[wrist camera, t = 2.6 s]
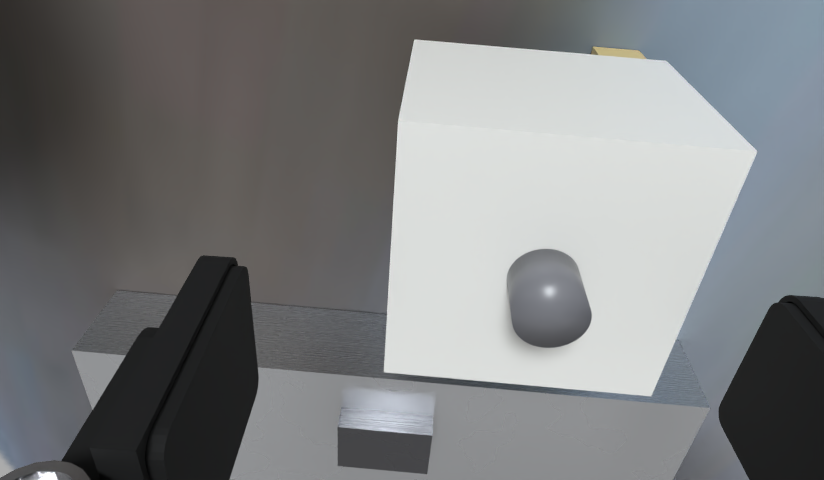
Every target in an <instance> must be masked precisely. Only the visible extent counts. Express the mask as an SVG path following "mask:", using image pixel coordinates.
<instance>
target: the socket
mask: <svg viewBox="0 0 824 480" xmlns="http://www.w3.org/2000/svg"><path fill="white" fill-rule="evenodd" d="M176 297H177V296H172V295H161V294H150V293H139V292H127V291H116V292H115V294H114V295H113V296H112V298H111V299H110V300H109V302H108V303H107V304H106V306H105V307H104V308H103V310H102V311H101V312H100V314H99V315H98V316H97V318H96V319H95V320H94V322H93V323H92V324H91V326H90V327H89V328H88V329H87V331H86V332H85V333H84V335H83V336H82V337H81V339H80V340H79V341H78V343H77V344H76V345H75V347H74V348H73V349H72V353H73V356H74V359H75V362H76V364H77V367H78V370H79V373H80V376H81V379H82V381H83V384H84V387H85V390H86V393H87V396H88V398H89V401H90V404H91V407H92V410H93V409H94V407H95V405H96V404H97V402H98V400H99V399H100V397H101V395H102V394H103V392H104V391H105V389H106V387H107V386H108V384H109V382H110V381H111V379H112V377H113V376H114V374H115V373H116V371H117V369H118V368H119V366H120V364H121V363H122V361H123V359H124V358H125V356H126V354H127V353H128V351H129V350H130V348H131V346H132V345H133V343H134V341H135V340H136V338H137V337H138V335H139V334H140V333H141V331H142V330H144V329H145V328H147V327H154V328H159V327H160V325H161V323H162V321H163V320H164V318H165V316H166V314H167V313H168V311H169V309H170V307H171V306H172V304H173V302H174V301H175V299H176ZM251 305H252V315H253V325H254V335H255V345H256V354H257V364H258V374H259V382H258V390H257V395H256V398H255V401H254V404H253V407H252V411H251V414H250V417H249V420H248V423H247V426H246V429H245V432H244V436H243V439H242V442H241V445H240V448H239V451H238V454H237V458H236V461H235V464H234V467H233V470H232V473H231V476H230V479H229V480H673V479H674V477H675V475H676V473H677V471H678V469H679V467H680V465H681V463H682V461H683V459H684V458H685V456H686V454H687V452H688V450H689V448H690V446H691V444H692V442H693V440H694V439H695V437H696V435H697V433H698V431H699V429H700V427H701V425H702V423H703V421H704V420H705V418H706V416H707V414H708V412H709V410H710V406H709V404H708V402H707V400H706V397H705V395H704V393H703V391H702V389H701V387H700V384H699V382H698V380H697V378H696V376H695V374H694V371H693V369H692V367H691V365H690V363H689V361H688V358H687V356H686V354H685V352H684V350H683V348H682V345H681V343H680V341H677V340H675V343H674V345H673V347H672V350H671V352H670V354H669V357H668V359H667V361H666V364H665V366H664V368H663V370H662V373H661V375H660V377H659V380H658V382H657V384H656V387H655V389H654V391H653V393H652V396H641V395H630V394H619V393H608V392H597V391H586V390H575V389H564V388H553V387H541V386H530V385H519V384H508V383H497V382H486V381H475V380H464V379H453V378H442V377H431V376H419V375H408V374H397V373H386V372H384V359H385V341H386V324H387V315H385V314H374V313H363V312H352V311H340V310H329V309H318V308H307V307H296V306H284V305H273V304H262V303H251Z"/></svg>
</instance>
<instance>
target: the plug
mask: <svg viewBox="0 0 824 480" xmlns="http://www.w3.org/2000/svg"><path fill="white" fill-rule="evenodd" d="M756 154H757V150H756V149H755V148H754V147H752V146H751V145H750V144H749V143H748V142H747V141H746V140H745V139H744V138H743V137H742V136H741V135H740V134H739V133H738V132H737V131H736V130H735V129H734V128H733V127H732V126H731V125H730V124H729V123H728V122H727V121H726V120H725V119H724V118H723V117H722V116H721V115H720V114H719V113H718V112H717V111H716V110H715V109H714V108H713V107H712V106H711V105H710V104H709V103H708V102H707V101H706V100H705V99H704V98H703V97H702V96H701V95H700V94H699V93H698V92H697V91H696V90H695V89H694V88H693V87H692V86H691V85H690V84H689V83H688V82H687V81H686V80H685V79H684V78H683V77H682V76H681V75H680V74H679V73H678V72H677V71H676V70H675V69H674V68H673V67H672V66H671V65H670V64H669V63H668V62H667V61H661V60H650V59H646V58H645V57H644V56H643V55H642V53H641V52H640V51H638V50H626V49H614V48H603V47H593V48H592V52H591V54H579V53H567V52H555V51H543V50H532V49H520V48H508V47H496V46H484V45H473V44H461V43H449V42H437V41H425V40H414V43H413V48H412V54H411V59H410V64H409V69H408V74H407V79H406V84H405V89H404V94H403V99H402V104H401V109H400V114H399V119H398V134H397V151H396V168H395V186H394V203H393V220H392V238H391V255H390V272H389V289H388V307H387V324H386V341H385V359H384V372H386V373H397V374H408V375H419V376H431V377H442V378H453V379H464V380H475V381H486V382H497V383H508V384H519V385H530V386H541V387H553V388H564V389H575V390H586V391H597V392H608V393H619V394H630V395H641V396H652V393H653V391H654V389H655V387H656V384H657V382H658V380H659V377H660V375H661V373H662V370H663V368H664V366H665V364H666V361H667V359H668V357H669V354H670V352H671V350H672V347H673V345H674V343H675V340H676V338H677V336H678V334H679V331H680V329H681V327H682V324H683V322H684V320H685V317H686V315H687V313H688V310H689V308H690V306H691V304H692V301H693V299H694V297H695V294H696V292H697V290H698V287H699V285H700V283H701V281H702V278H703V276H704V274H705V271H706V269H707V267H708V264H709V262H710V260H711V257H712V255H713V253H714V251H715V248H716V246H717V244H718V241H719V239H720V237H721V234H722V232H723V230H724V228H725V225H726V223H727V221H728V218H729V216H730V214H731V211H732V209H733V207H734V204H735V202H736V200H737V198H738V195H739V193H740V191H741V188H742V186H743V184H744V181H745V179H746V177H747V174H748V172H749V170H750V168H751V165H752V163H753V161H754V158H755V156H756Z"/></svg>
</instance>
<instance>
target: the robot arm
mask: <svg viewBox="0 0 824 480" xmlns="http://www.w3.org/2000/svg"><path fill="white" fill-rule="evenodd" d="M258 382H259V374H258V364H257V354H256V345H255V335H254V325H253V315H252V305H251V296H250V286H249V276H248V270H247V267H244V266H238V264H237V261H236V259H235V258H233V257H218V256H201V257H200V258H199V259H198V261H197V262H196V264H195V266H194V268H193V269H192V271H191V273H190V274H189V276H188V278H187V280H186V281H185V283H184V285H183V287H182V288H181V290H180V292H179V294H178V295H177V297H176V299H175V301H174V302H173V304H172V306H171V307H170V309H169V311H168V313H167V314H166V316H165V318H164V320H163V321H162V323H161V325H160V327H159V328H154V327H147V328H145V329H144V330H142V331H141V333H140V334H139V335H138V337H137V338H136V340H135V341H134V343H133V345H132V346H131V348H130V350H129V351H128V353H127V354H126V356H125V358H124V359H123V361H122V363H121V364H120V366H119V368H118V369H117V371H116V373H115V374H114V376H113V377H112V379H111V381H110V382H109V384H108V386H107V387H106V389H105V391H104V392H103V394H102V395H101V397H100V399H99V400H98V402H97V404H96V405H95V407H94V409H93V410H92V412H91V413H90V415H89V417H88V418H87V420H86V422H85V423H84V425H83V427H82V428H81V430H80V431H79V433H78V435H77V436H76V438H75V440H74V441H73V443H72V445H71V446H70V448H69V449H68V451H67V453H66V454H65V456H64V458H63V459H62V461H55V460H53V461H45V462H37V463H33V464H30V465H27V466H24V467H21V468H18V469H15V470H14V471H12V472H10V473H8V474H6V475H5V476H3V477H1V478H0V480H229V479H230V476H231V473H232V470H233V467H234V464H235V461H236V458H237V454H238V451H239V448H240V445H241V442H242V439H243V436H244V432H245V429H246V426H247V423H248V420H249V417H250V414H251V411H252V407H253V404H254V401H255V398H256V395H257V390H258ZM719 420H720V424H721V426H722V428H723V430H724V432H725V434H726V436H727V438H728V439H729V441H730V443H731V445H732V447H733V449H734V451H735V453H736V455H737V457H738V459H739V460H740V462H741V464H742V466H743V468H744V470H745V472H746V474H747V476H748V478H749V479H750V480H824V298H820V297H808V296H794V295H789V296H785V297H783V298H782V299H781V300H780V301H779V302H778V303H774V304H773V305H771V307H770V308H769V310H768V312H767V314H766V316H765V318H764V320H763V322H762V323H761V325H760V327H759V329H758V331H757V333H756V335H755V337H754V339H753V341H752V343H751V345H750V347H749V349H748V351H747V353H746V355H745V357H744V359H743V361H742V363H741V365H740V367H739V368H738V370H737V372H736V374H735V376H734V378H733V380H732V382H731V384H730V386H729V388H728V390H727V392H726V394H725V396H724V398H723V400H722V402H721V404H720V407H719Z"/></svg>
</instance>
